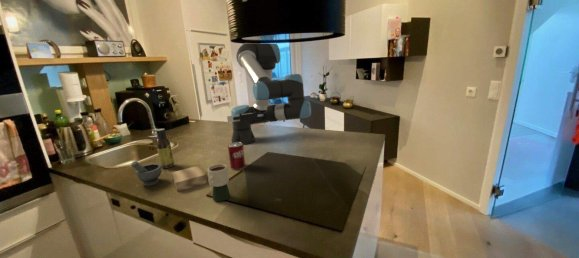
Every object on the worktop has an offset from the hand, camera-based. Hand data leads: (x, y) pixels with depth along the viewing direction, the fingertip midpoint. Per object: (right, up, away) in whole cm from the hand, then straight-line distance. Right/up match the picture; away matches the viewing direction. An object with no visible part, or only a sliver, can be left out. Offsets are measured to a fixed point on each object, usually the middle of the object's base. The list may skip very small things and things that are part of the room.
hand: (234, 118), depth 114 cm
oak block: (-18, -29, -8) cm, 35 cm away
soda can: (+1, -24, +5) cm, 25 cm away
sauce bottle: (-37, -25, +10) cm, 45 cm away
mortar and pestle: (-36, -30, -7) cm, 47 cm away
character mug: (0, -32, -22) cm, 39 cm away
